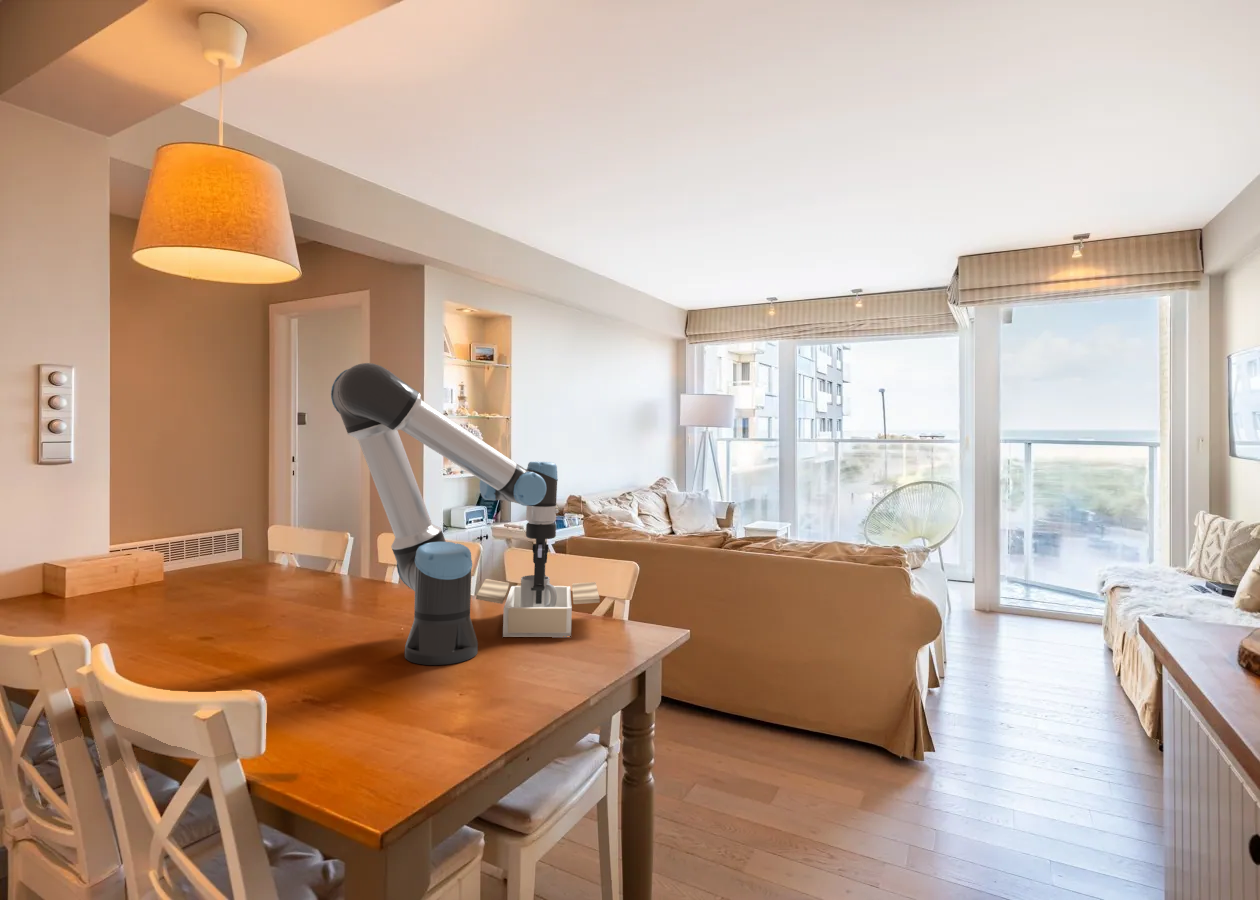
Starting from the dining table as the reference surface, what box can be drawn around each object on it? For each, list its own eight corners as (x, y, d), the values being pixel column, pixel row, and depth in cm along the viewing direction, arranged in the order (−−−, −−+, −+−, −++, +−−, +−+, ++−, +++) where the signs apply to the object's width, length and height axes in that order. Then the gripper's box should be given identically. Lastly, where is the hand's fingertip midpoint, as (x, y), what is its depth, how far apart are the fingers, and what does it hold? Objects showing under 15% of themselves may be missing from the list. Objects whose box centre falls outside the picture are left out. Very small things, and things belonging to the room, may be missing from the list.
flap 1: (476, 594, 157) (475, 599, 157) (503, 599, 158) (502, 603, 158) (485, 578, 176) (485, 582, 176) (509, 583, 177) (508, 586, 177)
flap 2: (573, 600, 160) (573, 604, 160) (599, 598, 160) (599, 602, 161) (571, 583, 179) (572, 587, 179) (595, 582, 179) (595, 585, 179)
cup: (530, 608, 173) (531, 574, 173) (563, 613, 169) (564, 578, 169) (514, 614, 167) (515, 578, 166) (548, 619, 162) (549, 583, 162)
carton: (571, 638, 157) (571, 608, 157) (502, 638, 155) (503, 608, 155) (569, 611, 182) (570, 585, 182) (510, 611, 180) (511, 585, 180)
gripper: (555, 527, 159) (553, 622, 159) (556, 518, 179) (554, 602, 179) (524, 527, 158) (521, 622, 158) (528, 517, 178) (526, 602, 178)
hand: (538, 611), depth 168 cm, fingers closed on cup, 7 cm apart
